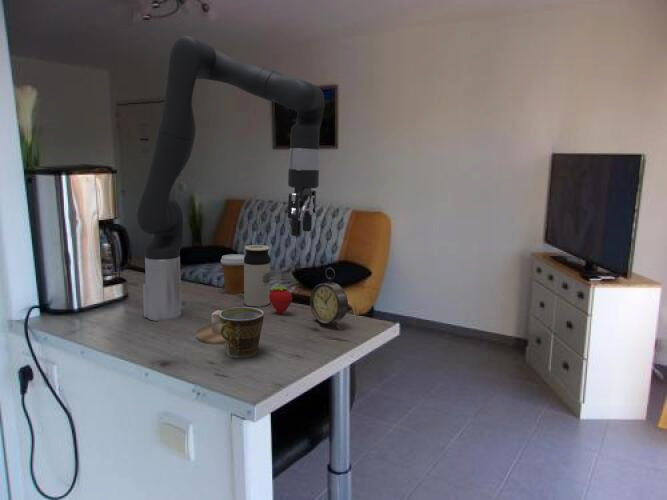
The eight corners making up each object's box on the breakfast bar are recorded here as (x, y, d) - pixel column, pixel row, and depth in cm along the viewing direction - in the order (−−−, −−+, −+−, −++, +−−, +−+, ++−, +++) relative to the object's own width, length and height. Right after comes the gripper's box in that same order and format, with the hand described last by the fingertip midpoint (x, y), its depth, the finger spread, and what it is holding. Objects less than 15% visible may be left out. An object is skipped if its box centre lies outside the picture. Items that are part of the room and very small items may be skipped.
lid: (186, 340, 123) (186, 316, 122) (211, 325, 135) (210, 303, 134) (231, 346, 120) (231, 322, 119) (252, 330, 131) (252, 308, 130)
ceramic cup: (235, 344, 123) (235, 304, 122) (271, 351, 120) (271, 310, 118) (202, 363, 112) (202, 319, 110) (241, 371, 108) (241, 326, 106)
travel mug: (238, 303, 157) (238, 246, 154) (258, 298, 163) (258, 243, 160) (255, 308, 152) (255, 250, 149) (275, 303, 158) (275, 247, 155)
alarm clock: (308, 322, 141) (309, 265, 138) (321, 318, 145) (323, 263, 142) (337, 332, 134) (339, 272, 131) (350, 327, 138) (352, 269, 135)
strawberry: (282, 319, 143) (282, 285, 141) (264, 314, 148) (264, 280, 146) (296, 315, 147) (297, 282, 146) (278, 309, 152) (279, 277, 150)
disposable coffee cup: (236, 296, 165) (235, 260, 163) (215, 291, 170) (214, 256, 168) (255, 290, 173) (255, 256, 171) (234, 286, 178) (234, 252, 176)
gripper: (298, 166, 131) (296, 228, 134) (278, 167, 117) (277, 236, 120) (326, 168, 129) (323, 231, 132) (309, 169, 116) (306, 238, 119)
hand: (301, 233), depth 126 cm, fingers open, 8 cm apart
